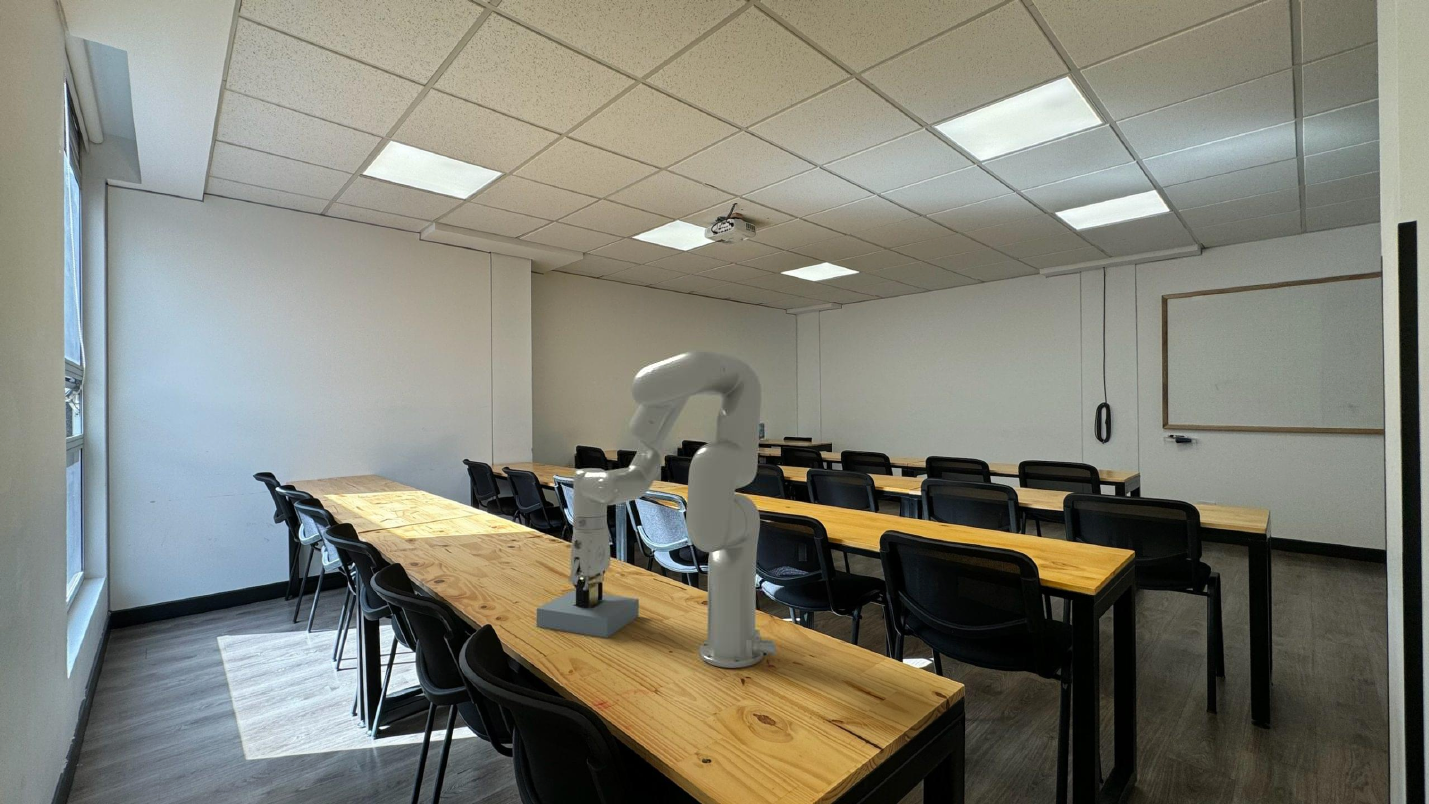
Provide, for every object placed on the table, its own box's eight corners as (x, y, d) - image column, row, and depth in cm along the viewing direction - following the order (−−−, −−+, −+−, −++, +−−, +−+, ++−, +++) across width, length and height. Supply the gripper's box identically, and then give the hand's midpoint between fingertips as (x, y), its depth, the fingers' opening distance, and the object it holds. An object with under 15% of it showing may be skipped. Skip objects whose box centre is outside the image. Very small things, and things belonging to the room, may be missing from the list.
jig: (638, 616, 134) (638, 598, 134) (607, 638, 121) (607, 619, 121) (573, 606, 141) (573, 590, 141) (536, 626, 128) (536, 608, 128)
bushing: (607, 609, 133) (607, 574, 133) (593, 617, 127) (593, 581, 127) (585, 606, 135) (585, 571, 135) (570, 614, 129) (570, 578, 129)
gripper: (583, 531, 122) (582, 617, 122) (623, 517, 138) (622, 594, 138) (553, 528, 125) (552, 613, 124) (596, 515, 141) (595, 590, 140)
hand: (589, 602), depth 131 cm, fingers open, 4 cm apart
